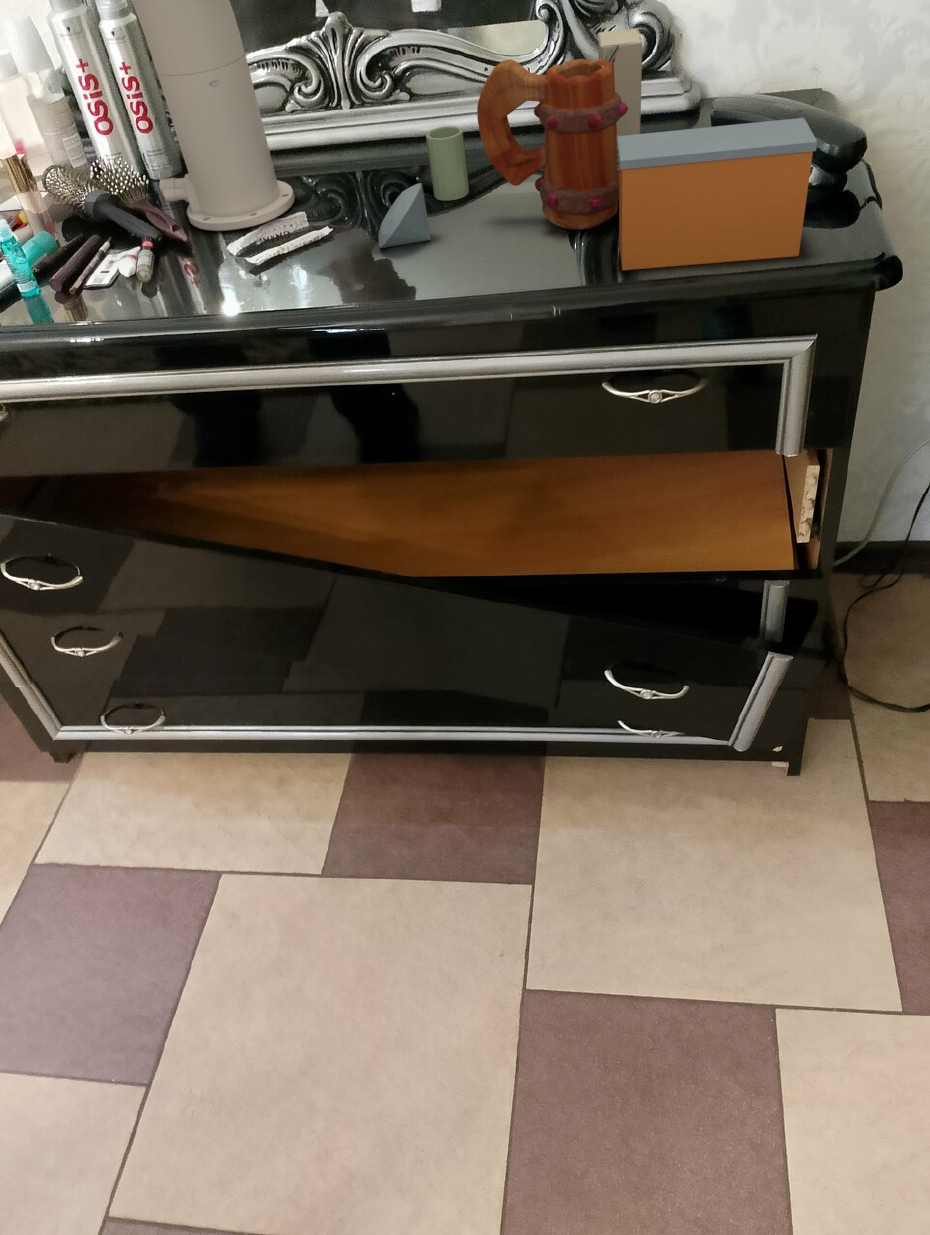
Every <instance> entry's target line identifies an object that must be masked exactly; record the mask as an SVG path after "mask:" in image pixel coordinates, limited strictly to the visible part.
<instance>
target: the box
mask: <svg viewBox="0 0 930 1235" xmlns="http://www.w3.org/2000/svg"><path fill="white" fill-rule="evenodd" d="M597 40H598V42H597V43H598V45H597V46H598V59H604V60H606V61H609V62H613V63H614V81H615V92H617V93H618V94H619V95H620V97H621V99H622V102H623V103H625V104H626V105H627V107H628V111H627V113H626V114H625V115H624V116H622V117H621V118H620V119H619V120H618V121H617V122H616V127H617V136H626V135H636V134H641V118H642V117H641V116H642V80H643V79H642V77H643V76H642V73H643V72H642V71H643V40H642V36H641V33H640V30H639V29H638V28H636V27H635V28H626V29H618V30H609V31H601V32H598V33H597ZM617 172H619V158H618V150H617Z"/></svg>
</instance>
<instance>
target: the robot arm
mask: <svg viewBox="0 0 930 1235" xmlns="http://www.w3.org/2000/svg"><path fill="white" fill-rule="evenodd" d="M130 1H131V4H132V6H133V8H134V11H135V13H136V15H137V18H138V21H139V23H140V26H141V29H142V32H143V34H144V35H143V36H144V38H145V42H146V44H147V46H148V50H149V52H150V56H151V59H152V61H153V65H154V68H155V71H156V74H157V77H158V80H159V84H160V86H161V90H162V93H163V96H164V99H165V102H166V106H167V110H168V112H169V115H170V118H171V122H172V125H173V128H174V131H175V134H176V138H177V142H178V144H179V147H180V151H181V154H182V157H183V161H184V164H185V166H186V169H187V173H185V175H184V177H179V178H176V177H170V178H161V179H160V180H159V183H158V184H159V185H158V186H159V190H160V193H161V195H162V197H164V200H165V201H166V203H170V202H178V201H185V202H186V203H188V205H187V209H186V215H187V217H188V218H187V219H188V220H189V222H190V224H191V225H192V226H193V227H196V228H197V229H200V230H204V231H211V232H226V231H237V230H243V229H247V228H252V227H255V226H258V225H261V224H264V223H267V222H270V221H272V220H275V219H276V218H278V217H281V215H284V213H286V212H287V211H289V209H290V208H292V206H293V204H294V203H295V198H296V197H295V193H294V189H293V187H292V186H291V185H290V184H289V183H287V182H285V181H281V180H279V179H277V176H276V172H275V168H274V164H273V160H272V155H271V152H270V148H269V144H268V140H267V135H266V131H265V128H264V123H263V120H262V116H261V111H260V108H259V104H258V99H257V96H256V91H255V87H254V83H253V79H252V76H251V71H250V68H249V63H248V60H247V56H246V52H245V48H244V45H243V44H244V43H243V41H242V36H241V33H240V29H239V25H238V23H237V18H236V15H235V13H234V9H233V7H232V5H231V2H230V0H130Z"/></svg>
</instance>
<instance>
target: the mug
mask: <svg viewBox="0 0 930 1235" xmlns="http://www.w3.org/2000/svg"><path fill="white" fill-rule="evenodd" d="M526 102H537V103H538V104H536V106H535V107H534V110H533V115H534V116H535V117H537V119H538V120H539V122H540V125H541V126H543V127H544V144H542V145H540V146H536V147H533V148H531V149H528V148H526V147H524V146H523V145H520V143H519V142H518V141H517V140H516V138H515V137H514V135H513V134H512V130H511V126H510V122H509V118H508V116H509V115H510V114H512V112H514V111H515V110H517V109H518V108H520V107H521V106H522V105H523V104H525V103H526ZM627 111H628V107H627V105H626V104H625V103H623V102H622V99H621V97H620V95H619V94H618V93H617V92H615V81H614V63H613V62H609V61H606V60H604V59H599V58H597V59H596V60H594V61H593V62H592V61H591V60H590V59H586V58H577V59H570V60H566V61H565V62H564V63H563V65H561V64H553V65H551V67H550V68H548V69H547V71H546V73H545V74H540V73H539V74H538V73H533V72H530V71H529V70H528V69H527V68H525V67H524V66H522V65H521V64H520V63H519V62H518V61H516V60H514V59H504V60H502V61H500V62H499V63H498V64H496V66H494V67H493V69H492V71H491V72H490V74H489V75H488V77H487V78H486V79H485V83H484V85H483V87H482V88H481V91H480V95H479V99H478V102H477V109H476V113H477V115H476V117H477V123H478V131H479V135H480V140H481V142H482V146H483V148H484V150H485V154H486V157H487V158H488V160H489V161H490V163H491V164H492V165H493V167H494V168H495V169H496V171H497V172H498V174H500V176H502V177H503V178H504V179H505V180H506V181H507V182H508V183H510V184H511V186H515V187H518V186H520V185H521V184H522V183H523V182H525V180H527V179H528V178H530V177H531V176H533V175H534V174H535V173H536V172H538V171H539V170H540V169H542V168H543V173H542V175H541V176H540V177H538V178H537V179H536V180H535V182H534V188H535V189H536V190H537V192H539V197H540V200H541V201H542V206H541V212H542V213H543V215H544V217H545V218H546V220H548V222H550V223H551V224H553V225H555V226H558V227H561V228H563V229H567V230H574V231H578V230H582V231H585V230H587V229H593V228H595V227H599V226H600V225H602V224H603V223H606V222H608V221H610V220H611V219H612V218H613V217H614V216H615V215H616V214H617V212H618V203H619V171H617V127H616V122H617V121H618V120H619V119H620V118H621V117H622V116H624V115H625V114H626V113H627Z"/></svg>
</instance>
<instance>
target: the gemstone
mask: <svg viewBox="0 0 930 1235" xmlns="http://www.w3.org/2000/svg"><path fill="white" fill-rule="evenodd" d="M429 224H430V223H429V218H428V213H427V207H426V200H425V195H424V188H423V183H421V182H419V183H415V184H414V185H412V186H409V187H408V188H406V189H404V190H403V191H401V193H399V195H398V196H397V197H396V199H395V200H394V202H393V203H392V205H391V206H390V208H389V209H388V211H387V212H386V214H385V216H384V218H383V220H382V222H381V224H380V228H379V231H378V236H377V237H378V247H379V249H384V248H390V247H395V246H396V247H397V246H402V245H408V244H414V243H415V244H416V243H422V242H427V241H431V240H432V238H431V236H432V235H431V231H430V225H429Z"/></svg>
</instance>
